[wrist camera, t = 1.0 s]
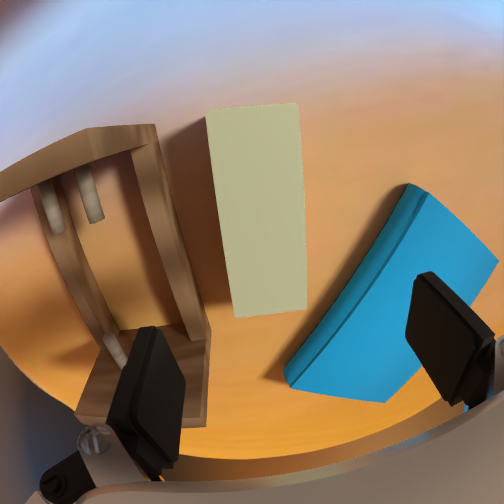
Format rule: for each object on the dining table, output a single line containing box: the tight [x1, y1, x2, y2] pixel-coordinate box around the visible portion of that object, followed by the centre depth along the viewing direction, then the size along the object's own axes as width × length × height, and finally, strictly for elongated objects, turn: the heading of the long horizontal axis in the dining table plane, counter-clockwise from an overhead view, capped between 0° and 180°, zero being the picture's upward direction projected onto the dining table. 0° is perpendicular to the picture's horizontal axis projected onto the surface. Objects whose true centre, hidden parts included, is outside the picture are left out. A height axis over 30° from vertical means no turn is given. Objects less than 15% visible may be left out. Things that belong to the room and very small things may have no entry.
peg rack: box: [0, 124, 211, 428], centre depth 20 cm, size 21×12×12 cm, turn 10°
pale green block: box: [205, 103, 307, 318], centre depth 22 cm, size 16×6×5 cm, turn 6°
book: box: [284, 183, 499, 403], centre depth 29 cm, size 17×4×25 cm
